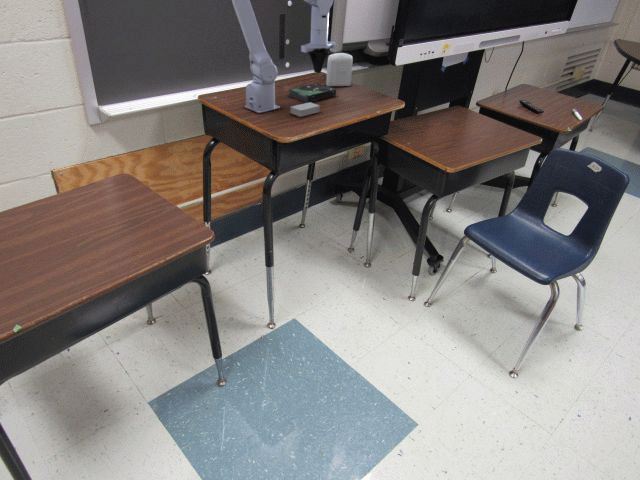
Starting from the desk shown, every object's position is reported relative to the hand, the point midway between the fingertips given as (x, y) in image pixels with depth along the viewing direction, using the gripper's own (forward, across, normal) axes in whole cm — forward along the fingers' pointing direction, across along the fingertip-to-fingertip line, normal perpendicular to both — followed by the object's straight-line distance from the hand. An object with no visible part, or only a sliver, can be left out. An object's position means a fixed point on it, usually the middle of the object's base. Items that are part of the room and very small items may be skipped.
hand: (317, 72), depth 157 cm
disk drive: (+11, +4, +6) cm, 13 cm away
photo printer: (+11, +23, +11) cm, 28 cm away
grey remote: (+9, -7, -6) cm, 13 cm away
